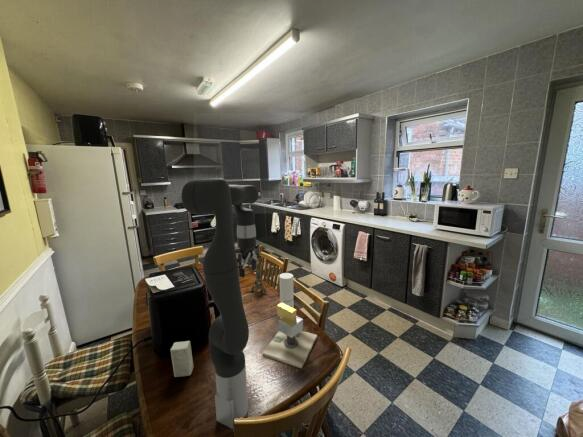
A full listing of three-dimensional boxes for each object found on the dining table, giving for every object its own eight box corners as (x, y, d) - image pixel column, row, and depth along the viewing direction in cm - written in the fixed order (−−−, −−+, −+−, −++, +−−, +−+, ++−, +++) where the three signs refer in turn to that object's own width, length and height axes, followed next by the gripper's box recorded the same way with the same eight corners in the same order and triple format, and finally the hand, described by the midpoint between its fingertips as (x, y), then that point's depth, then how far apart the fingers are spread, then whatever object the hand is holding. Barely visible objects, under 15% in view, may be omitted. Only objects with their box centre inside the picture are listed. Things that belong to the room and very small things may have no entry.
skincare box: (193, 366, 95) (191, 340, 93) (190, 376, 90) (187, 348, 88) (177, 368, 94) (174, 341, 92) (173, 377, 90) (169, 349, 88)
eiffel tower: (249, 290, 158) (247, 255, 153) (264, 287, 162) (263, 252, 158) (253, 297, 148) (251, 260, 144) (269, 294, 152) (267, 257, 148)
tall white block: (292, 324, 121) (291, 279, 117) (278, 322, 122) (277, 278, 118) (294, 316, 128) (294, 273, 123) (282, 315, 129) (281, 272, 125)
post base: (301, 368, 93) (301, 343, 91) (262, 355, 100) (261, 331, 98) (317, 337, 111) (317, 315, 109) (283, 327, 118) (282, 307, 116)
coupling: (302, 329, 105) (302, 308, 103) (291, 338, 99) (291, 316, 97) (285, 319, 112) (285, 300, 110) (273, 327, 106) (273, 307, 104)
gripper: (243, 240, 87) (246, 281, 89) (263, 232, 99) (264, 268, 102) (227, 238, 90) (230, 278, 92) (248, 230, 102) (250, 265, 105)
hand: (248, 272), depth 97 cm, fingers open, 8 cm apart
